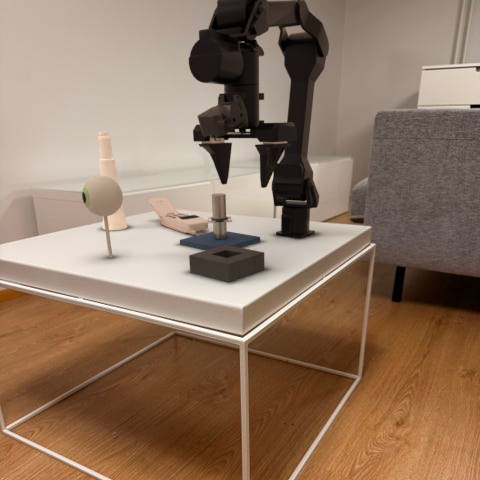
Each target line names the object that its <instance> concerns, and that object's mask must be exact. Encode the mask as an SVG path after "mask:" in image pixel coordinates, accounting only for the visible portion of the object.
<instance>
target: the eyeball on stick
mask: <svg viewBox="0 0 480 480" xmlns="http://www.w3.org/2000/svg"><path fill="white" fill-rule="evenodd" d="M81 197H82V202H83V204H84V206H85V208H86V209H87V210H88V211H89V212H91V214H93V215H96V216H99V217H102V218H103V217H104V224H105V237H106V246H107V254H108V258H110V259H111V258H113V250H112V243H111V235H110V230H109V226H108V218H107V216H110V215H112V214H114V213H115V212H117V211H118V210H119V208H120V207H121V205H123V199H124V194H123V190H122V188H121V186H120V184H119V185H118V184H117V183H116V182H115V181H114V180H113V179H111V178H109V177H106V176H100V175H96V176H94V177H91V178H89V179H88V180H87V181H86V182H85V183H84V186H83V187H82V191H81Z"/></svg>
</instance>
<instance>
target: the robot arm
mask: <svg viewBox="0 0 480 480" xmlns="http://www.w3.org/2000/svg"><path fill="white" fill-rule="evenodd" d="M297 26H300V28H301V29H302V30H303V31H300V32H294V33H293V32H292V33H290V34H289V33H288V32H287V29H286V28H291V27H297ZM277 27H278V30H279V35H278V41H277V44H278V47H279V49H280V51H281V53H282V56H283V65H284V68H285V70H286V73H287V75H288V77H289V79H290V85H289V95H288V105H287V106H288V108H287V118H286V121H285V122H265V120H264V119H263V120H261V119H260V101H264V100H265V92H260V57H264V56H265V51H264V49H263V48H262V46H261V45H260V44H259V43H258V40H257V39H256V38H257V37H260V36H262V35H263V34H266V33H267V32H268V31H269V30H270V28H277ZM329 50H330V42H329V37H328V35H327V32H326V30H325V26H324V23H323V22H322V21H321V20H320V19H318V18H317V16H315V15H314V14H313V13H312V12H311V11H310V10H309V7H308V4H307V2H306V0H217V1H216V8H215V9H214V11H213V14H212V16H211V20H210V23H209V25H208V27H207V28H205V29H199V30H198V40H197V41H196V42H195V43H194V44H193V46H192V47H191V50H190V54H189V57H188V68H189V70H190V73H191V75H192V77H193V78H194V79H195V80H196V81H198V82H200V83H204V84H210V85H211V84H212V85H213V84H214V85H223V93H218V96H217V105H215V106H212V107H210V108H208V109H206V110H205V111H203V112H201V113H199V114H197V121H198V124H195V126H194V127H193V129H192V137H193V138H192V139H193V142H194V143H195V142H196V143H198V142H201V143H198V146H199V148H203V149H204V150H205V151H206V152H207V153H208V154H209V155H210V158H211V160H212V162H213V164H214V167H215V170H216V172H217V175H218V179H219V182H220V183H221V185H227V184H228V180H229V174H230V165H231V156H232V145H233V142H225V141H229V140H230V139H257V141H258V142H259V143H260V144H259V143H257V144H254V147H255V149H256V150H257V152H258V155H259V180H260V188H262V189H264V188H267V187H268V185H269V183H270V180H271V179H272V181H271V194H272V200H273V205H274V207H281V214H280V230H278V231H276V232H275V235H276V236H277V235H278V236H284V237H290V238H296V239H297V238H298V239H300V238H301V239H302V238H304V237H306V236H310V235H313V234H315V233H316V230H312V229H310V222H311V220H310V219H311V218H310V217H311V209H316V208H318V206H319V203H320V194H319V191H318V188H317V187H316V183H315V181H314V170H313V168H312V166H311V164H310V161H309V159H308V153H309V145H310V144H309V143H310V141H309V140H310V135H311V123H312V113H313V104H314V93H315V84H316V82H317V80H318V79H319V77H320V76H321V74H322V73H323V71H324V69H325V66H326V59H327V56H328V54H329ZM236 130H238V131H236ZM247 130H249V131H247ZM282 155H283V157H282ZM280 158H281V160H280ZM279 160H280V161H279Z"/></svg>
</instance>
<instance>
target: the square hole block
mask: <svg viewBox="0 0 480 480" xmlns="http://www.w3.org/2000/svg"><path fill="white" fill-rule="evenodd" d="M188 263H189V273H191V274H196V275H199V276H204V277H206V278H211V279H215V280H218V281H221V282H222V281H223V282H226V283H231V282H234V281H237V280H239V279H242V278H244V277H247V276H251V275H253V274H255V273H259V272H260V271H264V270H265V252H264V251H259V250H254V249H248V248H244V247H240V248H239V247H234V246H229V245H223V246H220V247H216V248H213V249H209V250H203V251H199V252H194V253H191V254H189V255H188Z"/></svg>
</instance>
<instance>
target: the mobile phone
mask: <svg viewBox="0 0 480 480" xmlns="http://www.w3.org/2000/svg"><path fill="white" fill-rule="evenodd" d="M146 200H147V202H148V204H149V205H150V206H151V208H152V209H153V211H154V212H155V213H156V214H157V216H158V217H159V220H160V223H161V226H162V225H163V226H165V227H166V228H169V229H172V230H175V231H177V232H180V233H184V234H187V233H188V234H190V235H193V236H197V235H198V232H199V231H207V230H208V229H209V222H208V221H209V220H208V219H206V218H204V217H202V216H200V215H196V214H191V215H190V214H186V213H181V212H179V211H178V210H177V209H176V207H175V205H173V202H172V201H171V199H170V198H169V197H168V196H166V195H165V196H157V197H151V198H146Z"/></svg>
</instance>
